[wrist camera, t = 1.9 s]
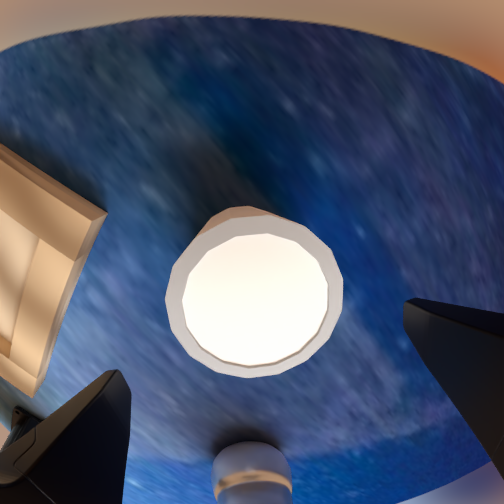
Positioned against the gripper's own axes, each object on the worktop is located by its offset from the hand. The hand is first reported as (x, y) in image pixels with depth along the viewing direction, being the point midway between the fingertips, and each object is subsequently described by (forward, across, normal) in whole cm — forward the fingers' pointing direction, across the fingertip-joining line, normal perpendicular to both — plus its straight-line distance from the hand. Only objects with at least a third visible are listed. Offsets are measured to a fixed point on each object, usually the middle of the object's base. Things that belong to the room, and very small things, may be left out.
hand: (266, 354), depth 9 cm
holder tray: (+10, +18, -4) cm, 21 cm away
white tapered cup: (+10, 0, 0) cm, 10 cm away
